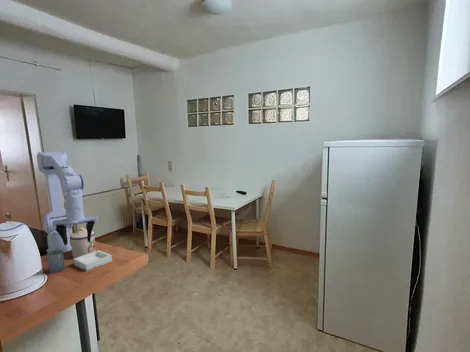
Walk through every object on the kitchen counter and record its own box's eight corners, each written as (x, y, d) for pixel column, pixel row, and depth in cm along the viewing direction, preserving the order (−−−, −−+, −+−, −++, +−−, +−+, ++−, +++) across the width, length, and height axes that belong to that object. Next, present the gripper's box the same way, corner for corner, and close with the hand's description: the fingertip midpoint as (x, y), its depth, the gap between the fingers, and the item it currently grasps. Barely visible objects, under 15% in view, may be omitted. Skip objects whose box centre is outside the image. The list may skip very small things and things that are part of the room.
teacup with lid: (92, 257, 110) (90, 230, 108) (68, 260, 108) (65, 232, 107) (100, 246, 121) (98, 222, 120) (79, 248, 120) (76, 223, 118)
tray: (73, 264, 103) (73, 258, 103) (98, 255, 111) (98, 250, 111) (86, 271, 98) (86, 264, 97) (112, 261, 106) (111, 255, 106)
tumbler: (46, 271, 99) (44, 253, 98) (61, 265, 103) (59, 248, 102) (52, 274, 96) (50, 256, 95) (67, 269, 100) (65, 251, 99)
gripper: (48, 212, 92) (52, 249, 94) (94, 207, 97) (97, 243, 99) (53, 207, 98) (57, 242, 100) (97, 203, 104) (100, 237, 105)
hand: (77, 242), depth 100 cm, fingers open, 7 cm apart
